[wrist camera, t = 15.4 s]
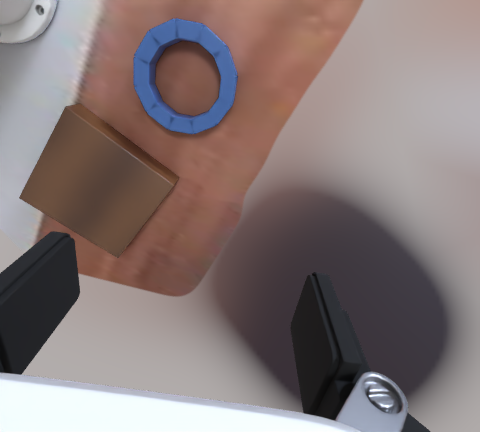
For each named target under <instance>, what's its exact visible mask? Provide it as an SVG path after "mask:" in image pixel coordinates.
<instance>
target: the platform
mask: <svg viewBox="0 0 480 432" xmlns="http://www.w3.org/2000/svg"><path fill="white" fill-rule="evenodd" d="M178 179H179V177H178V176H177V175H175V174H174V173H173V172H171V171H170V170H169V169H167V168H166V167H165V166H163V165H162V164H161V163H159V162H158V161H157V160H155V159H154V158H153V157H151V156H150V155H149V154H147V153H146V152H144V151H143V150H142V149H140V148H139V147H138V146H136V145H135V144H134V143H132V142H131V141H130V140H128V139H127V138H126V137H124V136H123V135H122V134H120V133H119V132H118V131H116V130H115V129H113V128H112V127H111V126H109V125H108V124H107V123H105V122H104V121H103V120H101V119H100V118H99V117H97V116H96V115H95V114H93V113H92V112H91V111H89V110H88V109H87V108H85V107H84V106H83V105H81V104H76V105H71V106H66V107H65V109H64V111H63V113H62V115H61V117H60V119H59V121H58V123H57V124H56V126H55V128H54V130H53V132H52V134H51V136H50V138H49V140H48V142H47V144H46V146H45V148H44V150H43V152H42V154H41V156H40V158H39V160H38V162H37V164H36V166H35V168H34V170H33V172H32V174H31V176H30V178H29V179H28V181H27V183H26V185H25V187H24V189H23V191H22V193H21V195H20V197H19V198H20V199H22V200H23V201H25V202H27V203H28V204H30V205H32V206H33V207H35V208H36V209H38V210H40V211H41V212H43V213H45V214H46V215H48V216H50V217H51V218H53V219H55V220H56V221H58V222H59V223H61V224H63V225H64V226H66V227H68V228H69V229H71V230H73V231H74V232H76V233H77V234H79V235H81V236H82V237H84V238H86V239H87V240H89V241H91V242H92V243H94V244H95V245H97V246H99V247H100V248H102V249H104V250H105V251H107V252H109V253H110V254H112V255H113V256H115V257H117V258H119V256H120V255H121V254H122V252H123V251H124V250H125V249H126V247H127V246H128V245H129V243H130V242H131V241H132V240H133V238H134V237H135V236H136V234H137V233H138V232H139V230H140V229H141V228H142V227H143V225H144V224H145V223H146V221H147V220H148V219H149V217H150V216H151V215H152V214H153V212H154V211H155V210H156V208H157V207H158V206H159V205H160V203H161V202H162V201H163V199H164V198H165V197H166V195H167V194H168V193H169V192H170V190H171V189H172V188H173V186H174V185H175V183H176V182H177V180H178Z"/></svg>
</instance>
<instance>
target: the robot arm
mask: <svg viewBox="0 0 480 432" xmlns="http://www.w3.org/2000/svg"><path fill="white" fill-rule="evenodd" d="M56 5H57V0H0V42H1V43H12V44H14V43H24V42H27V41H30V40H33V39H34V38H36V37H37V36H39V35H40V34H42V33H43V31H44V30H45V29H46V28H47V27H48V25H49V24H50V22H51V20H52V18H53V16H54V12H55V8H56ZM43 10H44V12H43ZM79 294H80V287H79V277H78V268H77V259H76V250H75V241H74V239H73V238H71V237H70V235H69V234H67V233H61V232H54V231H53V232H50V233H49V234H48V235H46V236H45V237H44V238H43V239H41V240H40V241H39V242H38V243H37V244H35V245H34V246H33V247H32V248H31V249H29V250H28V251H27V252H26V253H24V254H23V255H22V256H21V257H20V258H18V260H16V261H15V262H14V263H13V264H11V265H10V266H9V267H7V268H6V269H5V270H4V271H3V272H1V273H0V432H430V431H429V430H428V429H427V428H426V427H424V426H423V425H422V424H421V423H419V422H418V421H417V420H416V419H415V418H413V417H412V416H411V415H410V414H409V413H408V404H407V400H406V398H405V396H404V394H403V392H402V391H401V390H400V388H399V387H398V386H397V385H396V384H395V383H394V382H393V381H391V380H390V379H389V378H387V377H385V376H384V375H382V374H378V373H376V372H371V371H370V368H369V366H368V363H367V361H366V358H365V356H364V353H363V351H362V348H361V346H360V343H359V341H358V338H357V336H356V333H355V331H354V328H353V326H352V323H351V321H350V318H349V316H348V314H347V312H346V311H345V310H342V309H341V306H340V303H339V301H338V298H337V296H336V293H335V290H334V288H333V285H332V283H331V280H330V277H329V275H328V274H322V273H316V272H314V273H313V274H312V275H308V276H307V279H306V281H305V284H304V287H303V290H302V293H301V296H300V299H299V302H298V305H297V307H296V310H295V313H294V316H293V320H292V322H291V335H292V342H293V348H294V354H295V361H296V367H297V374H298V380H299V387H300V393H301V400H302V406H303V412H304V413H300V412H293V411H287V410H280V409H274V408H268V407H261V406H254V405H247V404H240V403H232V402H226V401H218V400H211V399H204V398H197V397H189V396H181V395H175V394H167V393H160V392H152V391H144V390H137V389H129V388H121V387H114V386H106V385H98V384H91V383H83V382H75V381H67V380H59V379H51V378H44V377H35V376H28V375H21V374H22V373H23V372H24V370H25V369H26V368H27V366H28V365H29V363H30V362H31V361H32V360H33V358H34V357H35V355H36V354H37V353H38V352H39V350H40V349H41V347H42V346H43V345H44V343H45V342H46V341H47V339H48V338H49V337H50V335H51V334H52V333H53V331H54V330H55V329H56V327H57V326H58V325H59V323H60V322H61V321H62V319H63V318H64V317H65V315H66V314H67V313H68V311H69V310H70V308H71V307H72V306H73V305H74V303H75V302H76V301H77V299H78V297H79Z"/></svg>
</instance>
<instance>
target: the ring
mask: <svg viewBox="0 0 480 432" xmlns="http://www.w3.org/2000/svg"><path fill="white" fill-rule="evenodd" d="M149 31H150V32H149ZM149 31H148V32H147V34H146V35H145V37H144V39H143V40H142V42H141V44H140V46H139V47H138V49H137V51H136V53H135V54H134V56H135V57H134V86H135V87H134V88H135V90H136V92H137V94H138V96H139V98H140V100H141V102H142V105H143V107H144V109H145V111H146V112H148V113H147V114H148V115H150V116H151V117H152V118H153V119H155V120H156V121H157V122H159V123H160V124H161V125H162V126H164V127H165V128H166V129H169V130H171V131H176V132H182V133H187V134H193V133H194V134H196V133H199V132H201V131H204V130H207V129H209V128H212V127H214V126H216V125H218V123H219V122H220V121H221V119H222V118H223V117H224V116H225V114H226V113H227V112H228V110H229V109H230V108H231V106H232V105H233V102H234V98H235V92H236V85H237V78H238V76H236V75H237V71H236V68H235V65H234V62H233V59H232V56H231V53H230V50H229V48H228V46H227V45H226V44H225V43H224V42H223V41H222V40H220V39H219V38H218V37H217V36H216V35H215V34H214V33H213V32H212V31H211V30H210V29H209V28H208V27H207V26H206V25H203V24H202V23H197V22H192V21H187V20H182V19H177V18H176V19H172V20H169V21H167V22H165V23H163V24H161V25H159V26H157V27H154V28H152V29H150V30H149ZM182 40H184V41H189V42H194V43H199V44H200V45H201V46H203V47H204V48H205V49H206V50H207V51H208V52H209V53H210V54H211V55H212V56H213V57H214V59H215V61H216V64H217V67H218V70H219V73H220V75H221V83H220V91H219V98H218V99H217V101H216V102H215V103H214V105H213V106H212V107H211V109H210V110H209V111H207V112H204V113H201V114H199V115H196V116H190V115H185V114H179V113H177V112H176V111H174V110H173V109H172V108H171V107H169V106H168V105H167V104H166V103H165V102H163V100H162V98H161V96H160V93H159V91H158V89H157V87H156V85H155V72H156V63H157V61H158V60H159V58H160V56H161V55H162V53H163V52H164V50H165V48H166V47H169V46H171V45H173V44H175V43H177V42H180V41H182Z"/></svg>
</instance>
